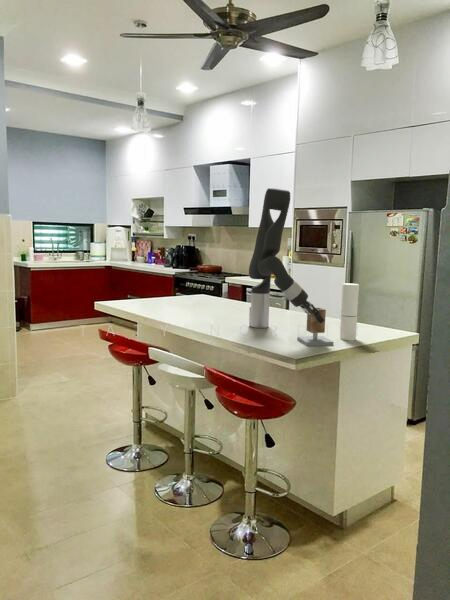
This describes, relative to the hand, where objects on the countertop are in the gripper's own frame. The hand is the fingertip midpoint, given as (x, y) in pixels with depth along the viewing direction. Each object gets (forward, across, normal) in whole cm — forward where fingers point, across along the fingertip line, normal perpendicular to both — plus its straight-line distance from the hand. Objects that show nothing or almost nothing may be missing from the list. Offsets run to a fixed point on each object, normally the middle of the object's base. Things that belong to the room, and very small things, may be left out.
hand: (319, 320), depth 211 cm
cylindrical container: (+19, +6, -5) cm, 20 cm away
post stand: (+6, 0, +8) cm, 10 cm away
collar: (+2, 0, +5) cm, 5 cm away
